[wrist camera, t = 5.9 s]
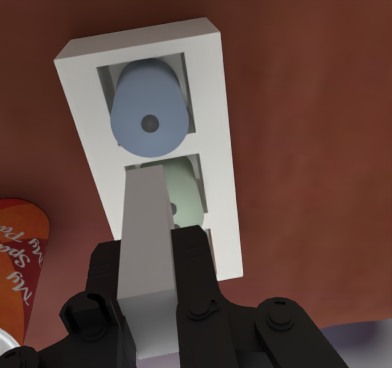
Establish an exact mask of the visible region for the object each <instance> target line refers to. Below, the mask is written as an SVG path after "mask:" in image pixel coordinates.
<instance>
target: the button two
mask: <svg viewBox="0 0 392 368" xmlns="http://www.w3.org/2000/svg"><path fill="white" fill-rule="evenodd" d="M157 165H163V169H164V174H165V179H166V184H167V189H168V194H169V199H170V203H171V208H172V213H173V219H174V228H175V229H176V228H182V227H188V226H193V225H199V226H200V227H202V225H203V221H204V213H203V208H202V204H201V199H200V195H199V191H198V186H197V182H196V178H195V173H194V169H193V165H192V163H191V161H190V160H189V159H188V158H187V157H186V156H180V157H174V158H169V159H163V160H157V161H152V162H146V163H142V164H141V166H140V168H145V167H151V166H157Z"/></svg>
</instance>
